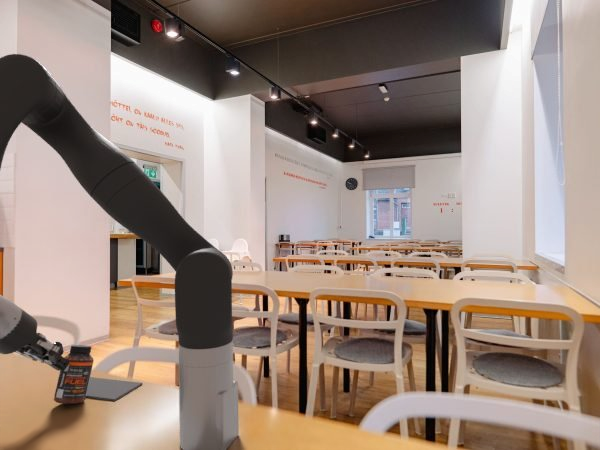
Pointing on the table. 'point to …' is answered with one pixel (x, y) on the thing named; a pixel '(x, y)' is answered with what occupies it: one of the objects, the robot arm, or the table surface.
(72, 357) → the supplement bottle
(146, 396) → the table surface
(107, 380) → the rubber mat
